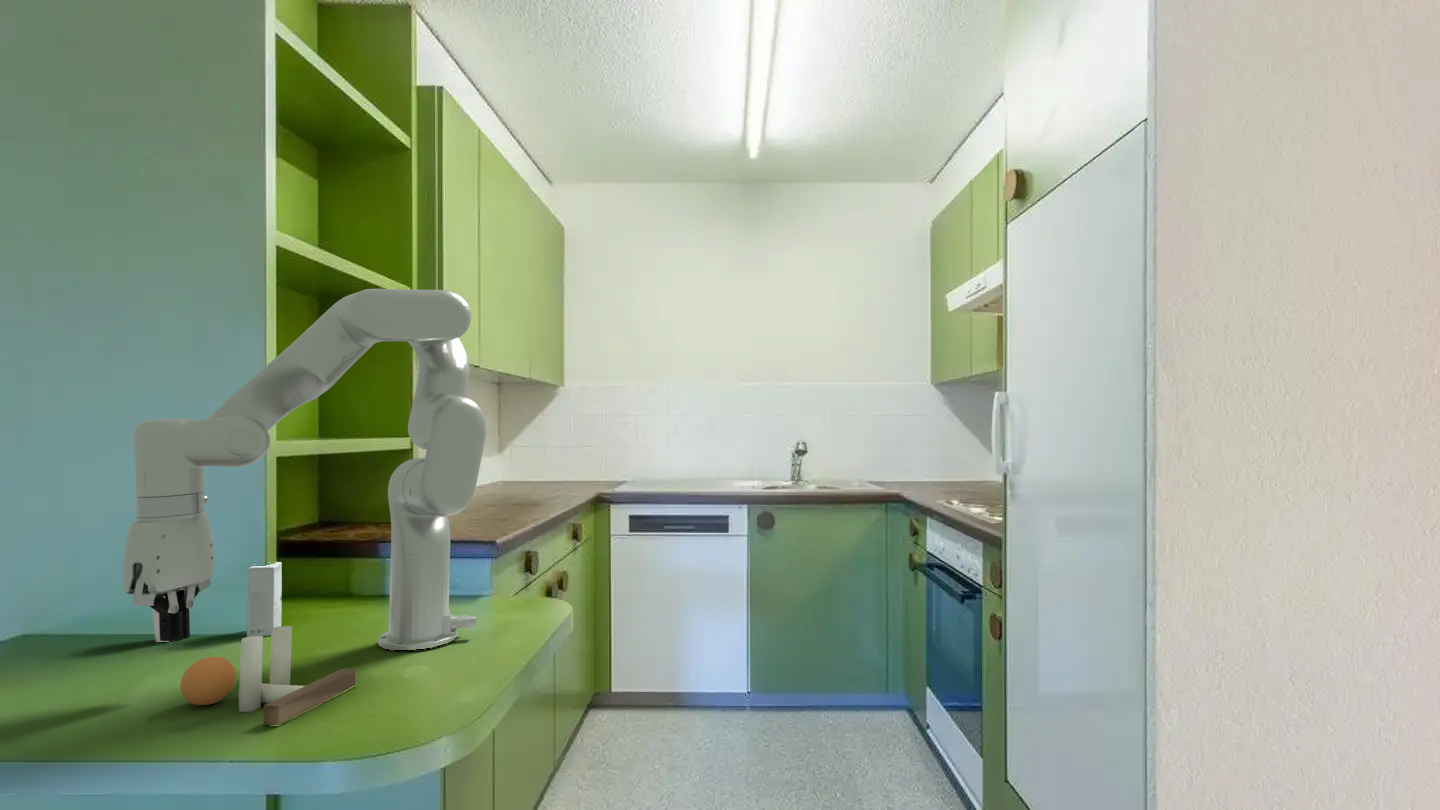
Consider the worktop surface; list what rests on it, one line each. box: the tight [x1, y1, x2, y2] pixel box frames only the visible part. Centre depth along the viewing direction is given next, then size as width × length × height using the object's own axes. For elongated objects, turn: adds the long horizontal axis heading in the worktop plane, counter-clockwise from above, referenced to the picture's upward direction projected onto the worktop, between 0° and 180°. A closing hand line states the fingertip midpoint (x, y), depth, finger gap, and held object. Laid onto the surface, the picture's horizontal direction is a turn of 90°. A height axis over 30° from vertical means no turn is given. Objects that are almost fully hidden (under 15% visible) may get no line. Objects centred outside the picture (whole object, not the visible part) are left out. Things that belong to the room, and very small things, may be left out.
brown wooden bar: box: [263, 668, 356, 726], centre depth 94 cm, size 2×14×2 cm, turn 170°
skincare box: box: [246, 561, 283, 637], centre depth 129 cm, size 6×4×12 cm
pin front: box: [237, 683, 305, 704], centre depth 95 cm, size 2×2×9 cm
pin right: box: [269, 625, 293, 685], centre depth 98 cm, size 2×2×9 cm
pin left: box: [238, 636, 264, 713], centre depth 93 cm, size 2×2×9 cm
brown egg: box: [179, 656, 237, 706], centre depth 94 cm, size 6×6×6 cm
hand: (174, 639), depth 99 cm, fingers closed
